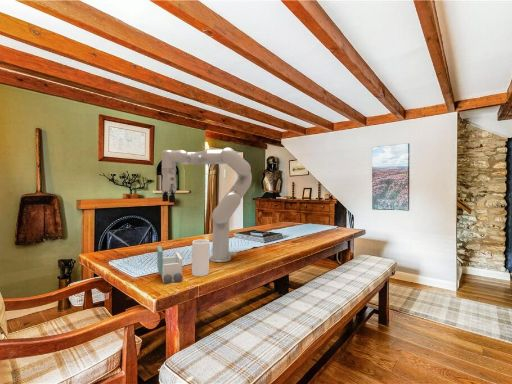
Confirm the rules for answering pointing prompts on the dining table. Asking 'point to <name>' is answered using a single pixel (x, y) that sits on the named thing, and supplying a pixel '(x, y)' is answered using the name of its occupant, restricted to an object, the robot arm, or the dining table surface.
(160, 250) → the tailgate
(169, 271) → the cart
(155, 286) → the dining table surface
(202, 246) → the cup
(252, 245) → the dining table surface
